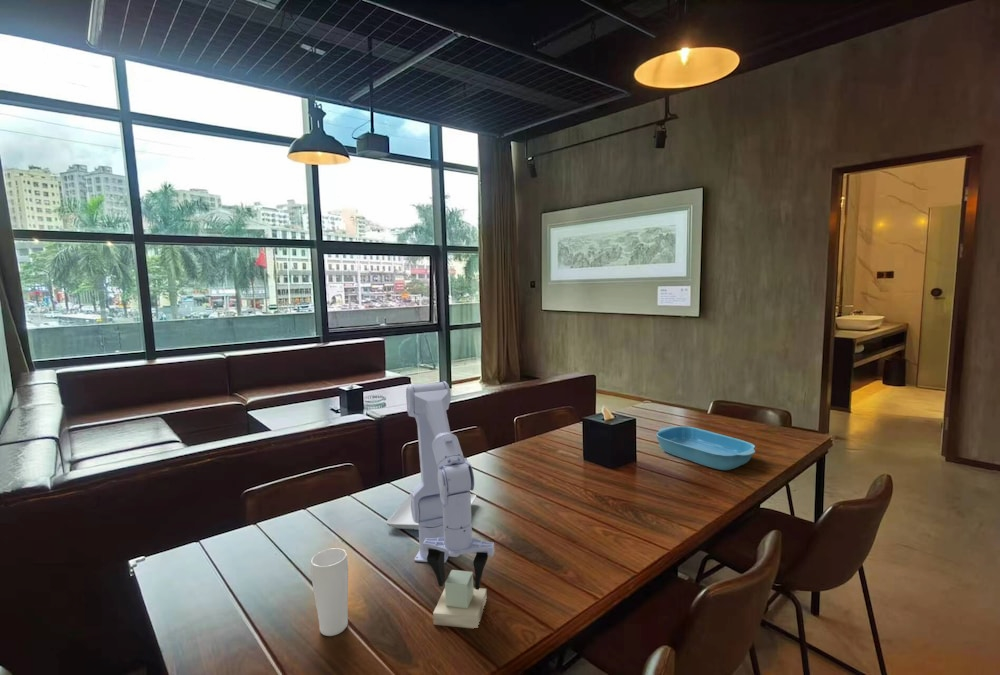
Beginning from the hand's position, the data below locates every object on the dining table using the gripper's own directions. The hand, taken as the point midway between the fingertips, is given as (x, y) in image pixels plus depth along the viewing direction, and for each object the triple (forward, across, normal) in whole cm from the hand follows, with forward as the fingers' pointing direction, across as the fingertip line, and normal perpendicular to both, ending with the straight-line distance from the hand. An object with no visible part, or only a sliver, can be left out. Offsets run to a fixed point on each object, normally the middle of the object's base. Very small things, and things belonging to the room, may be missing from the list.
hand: (459, 585), depth 98 cm
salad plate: (+6, -18, +39) cm, 43 cm away
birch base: (+6, 0, 0) cm, 6 cm away
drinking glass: (+6, -24, -8) cm, 26 cm away
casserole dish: (+6, +70, +97) cm, 120 cm away
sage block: (+3, 0, 0) cm, 3 cm away
